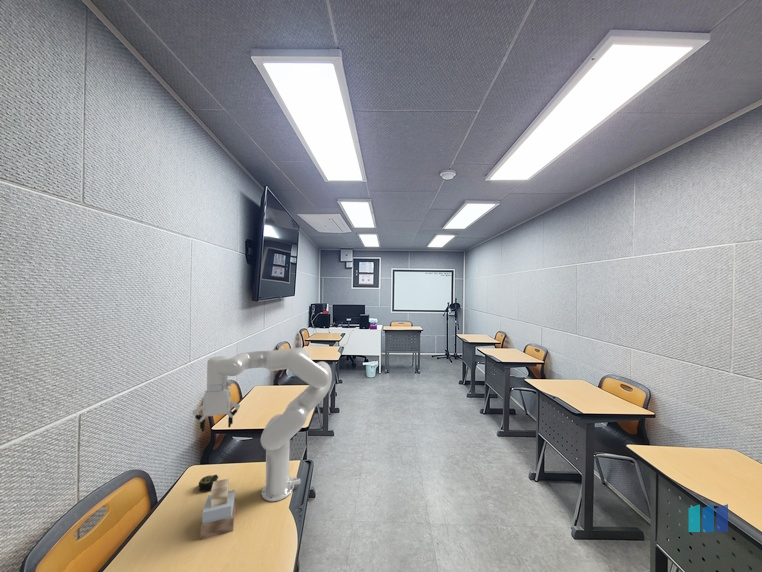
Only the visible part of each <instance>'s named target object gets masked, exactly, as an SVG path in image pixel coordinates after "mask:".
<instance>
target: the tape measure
mask: <svg viewBox="0 0 762 572" xmlns="http://www.w3.org/2000/svg"><path fill="white" fill-rule="evenodd" d="M218 479H219V476H218V474H213V475H212V474H211V475H206V476H204V477H202V478H201V479H200V480H199V482H198V490H199V491H200V492H207V491H211V489H212V486H213V482H214V481H218Z"/></svg>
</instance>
